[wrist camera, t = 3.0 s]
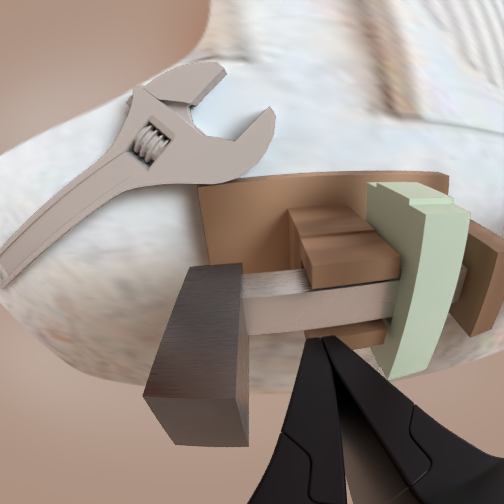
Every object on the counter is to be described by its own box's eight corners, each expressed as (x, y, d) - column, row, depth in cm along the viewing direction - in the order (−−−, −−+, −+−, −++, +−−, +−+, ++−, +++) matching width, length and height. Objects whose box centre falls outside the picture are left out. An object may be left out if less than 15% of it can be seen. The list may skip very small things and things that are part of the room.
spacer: (405, 177, 11) (471, 206, 7) (389, 313, 14) (424, 372, 10) (366, 177, 11) (426, 207, 7) (356, 319, 14) (386, 383, 10)
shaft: (446, 242, 10) (536, 318, 5) (436, 288, 11) (507, 372, 6) (189, 266, 10) (142, 395, 5) (201, 317, 11) (175, 444, 6)
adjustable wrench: (8, 284, 17) (-3, 294, 16) (-21, 223, 15) (-34, 230, 13) (282, 158, 14) (286, 161, 12) (239, 48, 11) (237, 37, 10)
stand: (437, 171, 14) (535, 212, 6) (425, 273, 16) (492, 347, 9) (201, 182, 14) (151, 240, 7) (220, 297, 17) (204, 406, 10)
